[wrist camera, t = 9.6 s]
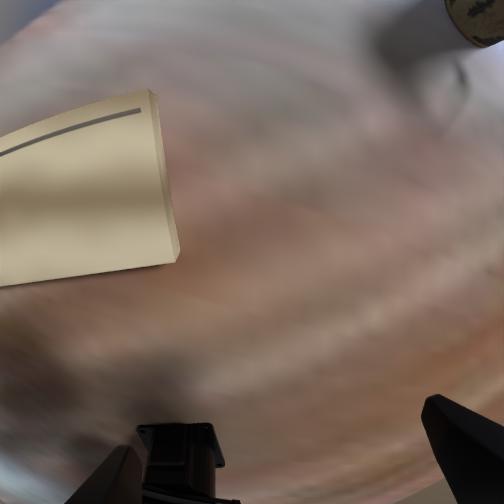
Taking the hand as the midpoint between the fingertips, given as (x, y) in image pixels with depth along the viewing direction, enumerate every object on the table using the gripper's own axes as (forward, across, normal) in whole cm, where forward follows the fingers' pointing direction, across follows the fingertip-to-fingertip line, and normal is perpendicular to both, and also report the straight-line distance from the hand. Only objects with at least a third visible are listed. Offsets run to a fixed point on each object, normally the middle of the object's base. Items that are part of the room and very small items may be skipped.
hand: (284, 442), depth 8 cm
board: (+12, +16, -7) cm, 21 cm away
